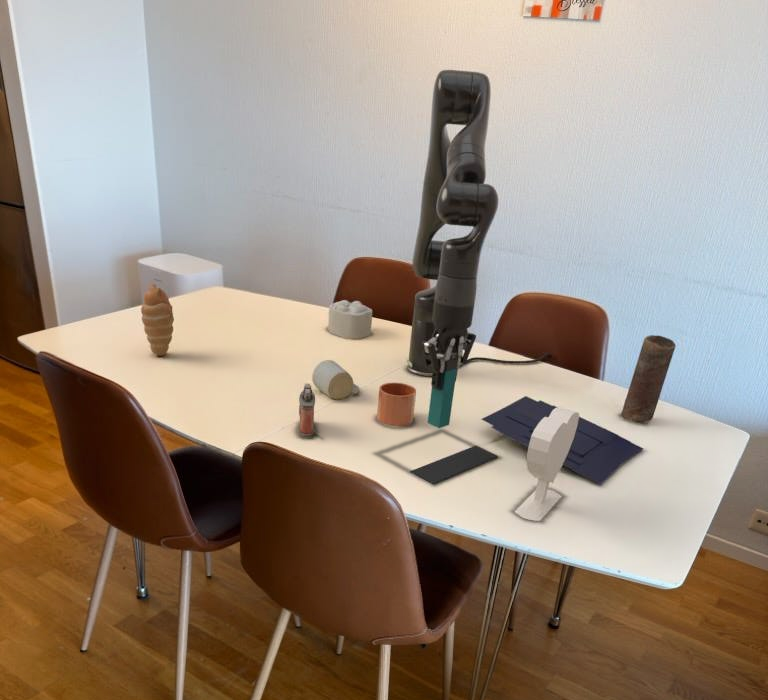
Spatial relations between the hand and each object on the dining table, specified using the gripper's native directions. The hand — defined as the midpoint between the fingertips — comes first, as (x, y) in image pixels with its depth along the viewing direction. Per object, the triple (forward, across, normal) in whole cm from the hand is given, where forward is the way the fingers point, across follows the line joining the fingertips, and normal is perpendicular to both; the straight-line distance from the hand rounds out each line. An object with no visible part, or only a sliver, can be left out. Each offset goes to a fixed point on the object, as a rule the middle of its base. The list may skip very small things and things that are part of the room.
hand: (443, 386), depth 141 cm
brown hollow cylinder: (+15, +56, -16) cm, 60 cm away
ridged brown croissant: (+15, -18, +81) cm, 84 cm away
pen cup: (+15, +5, +17) cm, 23 cm away
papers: (+15, +27, -13) cm, 34 cm away
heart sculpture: (+15, +1, -26) cm, 30 cm away
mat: (+15, 0, -1) cm, 15 cm away
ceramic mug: (+15, +4, +36) cm, 39 cm away
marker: (+8, 0, 0) cm, 8 cm away
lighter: (+15, -15, +24) cm, 32 cm away
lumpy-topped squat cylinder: (+15, +39, +72) cm, 83 cm away
